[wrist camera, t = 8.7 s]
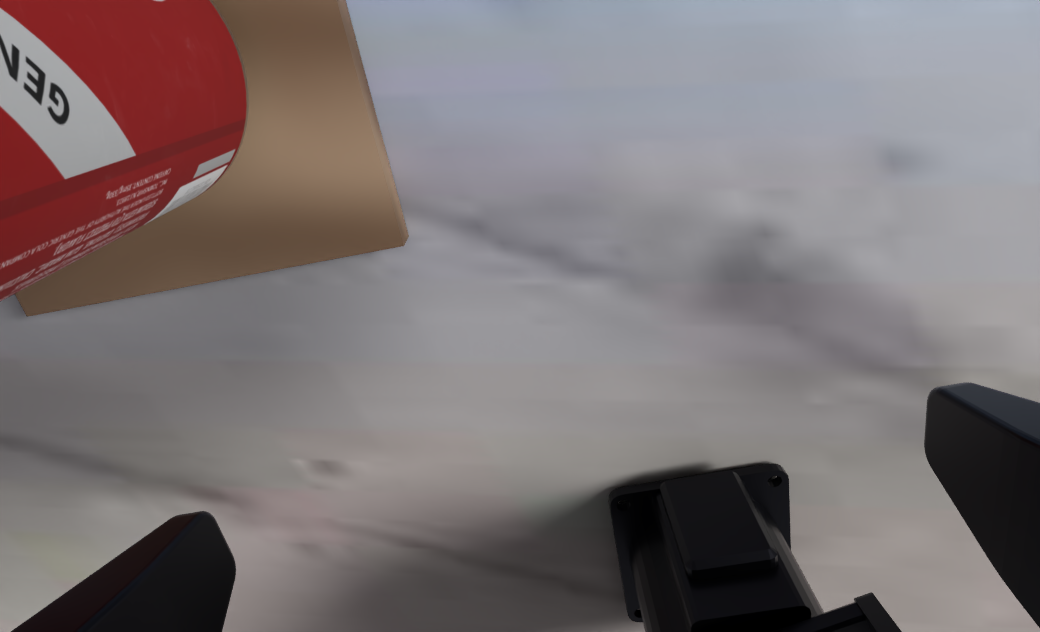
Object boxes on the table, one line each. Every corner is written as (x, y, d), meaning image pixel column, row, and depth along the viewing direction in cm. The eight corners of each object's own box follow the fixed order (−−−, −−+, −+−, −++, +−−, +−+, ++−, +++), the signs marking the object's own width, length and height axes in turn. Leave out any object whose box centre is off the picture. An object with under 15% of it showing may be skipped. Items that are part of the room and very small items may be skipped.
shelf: (408, 236, 20) (386, 281, 17) (48, 304, 21) (-50, 361, 17) (251, -352, 15) (164, -478, 11) (-231, -230, 15) (-463, -311, 12)
